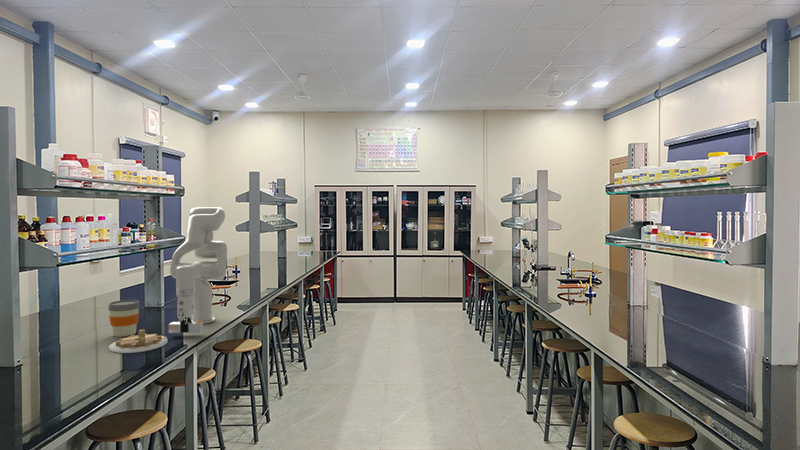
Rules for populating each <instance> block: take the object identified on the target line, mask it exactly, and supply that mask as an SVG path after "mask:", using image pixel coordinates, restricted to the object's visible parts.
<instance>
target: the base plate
mask: <svg viewBox="0 0 800 450" xmlns="http://www.w3.org/2000/svg"><path fill="white" fill-rule="evenodd" d="M161 336H162V340H160V342H159V343H153V344H150V346H146V347H145V346H140V347H136V348H131V347H125V348H119V346H116V341H114V342H112V343H111V344H109V345H108V350H109V352H111V351H112V353H115V352H116V354H133V353H134V354H135V353H142V352H147V351H148V352H149V351H152V350H156V349H159V348H162V347H164V346H165V345H167V344H168V338H167V336H163V335H161Z"/></svg>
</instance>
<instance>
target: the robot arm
mask: <svg viewBox="0 0 800 450" xmlns="http://www.w3.org/2000/svg"><path fill="white" fill-rule="evenodd" d="M225 218H226V213H225V210H224V208H222V207H208V206H207V207H198V206H197V207H193V208H191V209H190V210H189V218H188V222H187V226H186V234H185V241H184V242H183V244H180V246H179V247H177V249H176V250H175V251H174V253H173V255H172V256H171V262H170V267H169V268H170V269H169V273H170V276H171V278H173V279H175V287H176V289H175V290H176V293H175V294H176V297H177V303H176V304H177V305H176V307H177V309H176V310H177V311H176V313H177V318H178V322H180V332H181V333H180V334H182V333H183V334H188V333H187V332H188V324H187V322H198V321H203V325H204V324H205V325H206V324H209V323H210V324H211V323H214V322H215V321H216V317H214V316H213V312H214V311H213V288H212V285H211V283H210V282H209V281H208V280H223V279H224V278H225V277H226V275H227V263H228V261H227V260H228V246H227V243H226V242H225V241H223V240H222V241H221V240H214V232H215V231H218V230H219V229H220V227H221V226H222V225H223V223H224V221H225ZM193 251H194V256H195V257H196V259H199V261H195V262H181V260H182V259H183V257H184V256H185V255H186V254H188V253H190V252H193ZM200 260H201V261H200ZM202 260H204V261H202ZM209 260H211V261H209ZM213 260H216V261H213Z"/></svg>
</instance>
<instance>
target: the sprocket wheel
mask: <svg viewBox="0 0 800 450" xmlns="http://www.w3.org/2000/svg"><path fill="white" fill-rule="evenodd" d="M162 336H163V335H158V333H151V334H148V333H147V332H146V329H139V330H138V334H137V335H135V334H133V335H130V336H125V337H121V338H118V340H115V342H116V346H119V348H125V347H131V348H136V347H140V346H145V347H146V346H150V344H153V343H159V342H160V340H162Z"/></svg>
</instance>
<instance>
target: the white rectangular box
mask: <svg viewBox="0 0 800 450" xmlns="http://www.w3.org/2000/svg"><path fill="white" fill-rule="evenodd" d="M187 324H188V332H187V333H186V334H189V333H193V334H194V333H196V334H197V333H202V332H203V331H204V324H203V321H198V322H187ZM168 334H182V333H181V332H180V321H172V322H170V323H169V324H168Z"/></svg>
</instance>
